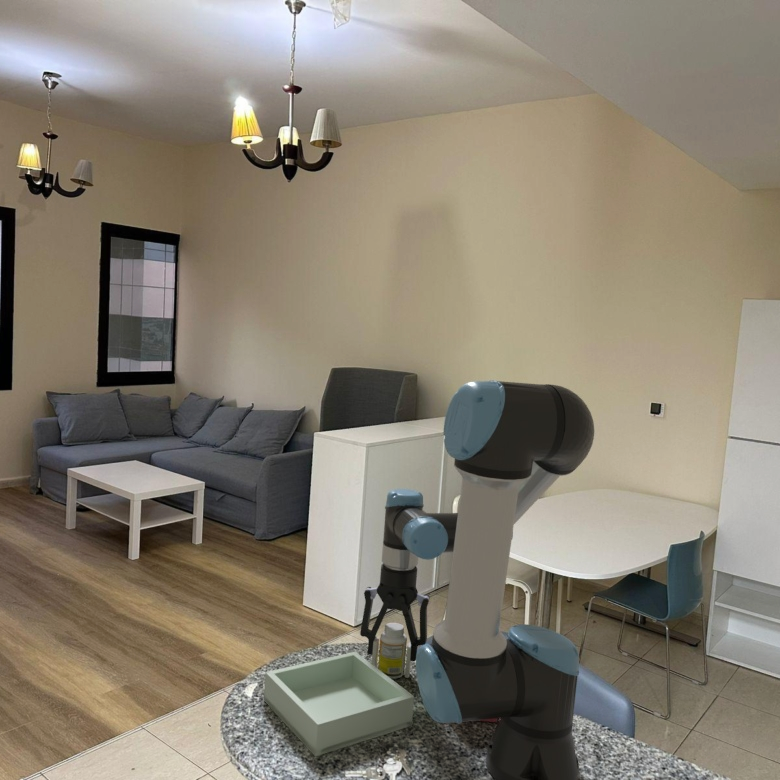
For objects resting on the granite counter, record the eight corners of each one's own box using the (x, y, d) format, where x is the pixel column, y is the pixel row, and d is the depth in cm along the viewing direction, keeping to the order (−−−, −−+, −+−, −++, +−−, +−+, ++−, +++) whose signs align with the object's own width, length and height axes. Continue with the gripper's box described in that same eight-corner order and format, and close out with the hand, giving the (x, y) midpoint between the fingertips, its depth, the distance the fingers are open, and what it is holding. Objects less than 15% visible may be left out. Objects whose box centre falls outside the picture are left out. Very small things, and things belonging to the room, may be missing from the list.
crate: (411, 725, 129) (414, 696, 128) (315, 756, 117) (317, 724, 117) (353, 677, 145) (355, 651, 144) (263, 700, 133) (265, 672, 133)
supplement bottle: (388, 664, 152) (392, 618, 151) (409, 674, 148) (413, 626, 147) (372, 673, 147) (375, 625, 147) (392, 682, 144) (396, 634, 143)
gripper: (447, 565, 148) (438, 671, 150) (357, 553, 151) (349, 656, 153) (444, 576, 141) (434, 688, 143) (349, 564, 144) (341, 672, 146)
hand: (390, 671), depth 148 cm, fingers open, 6 cm apart
